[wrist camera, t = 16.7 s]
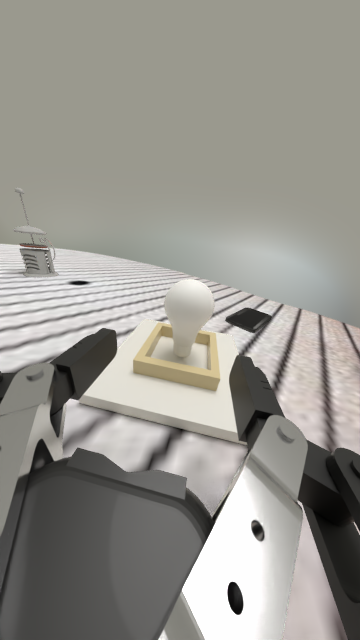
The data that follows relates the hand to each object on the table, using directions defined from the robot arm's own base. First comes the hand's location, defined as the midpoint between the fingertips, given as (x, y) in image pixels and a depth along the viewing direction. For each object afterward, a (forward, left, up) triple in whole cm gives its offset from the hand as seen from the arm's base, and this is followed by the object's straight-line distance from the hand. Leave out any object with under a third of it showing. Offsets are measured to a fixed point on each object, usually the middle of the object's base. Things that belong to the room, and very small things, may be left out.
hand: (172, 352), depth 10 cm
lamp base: (0, +10, -9) cm, 14 cm away
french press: (-56, +41, -10) cm, 70 cm away
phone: (+16, +33, -10) cm, 38 cm away
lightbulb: (0, +10, -8) cm, 13 cm away
